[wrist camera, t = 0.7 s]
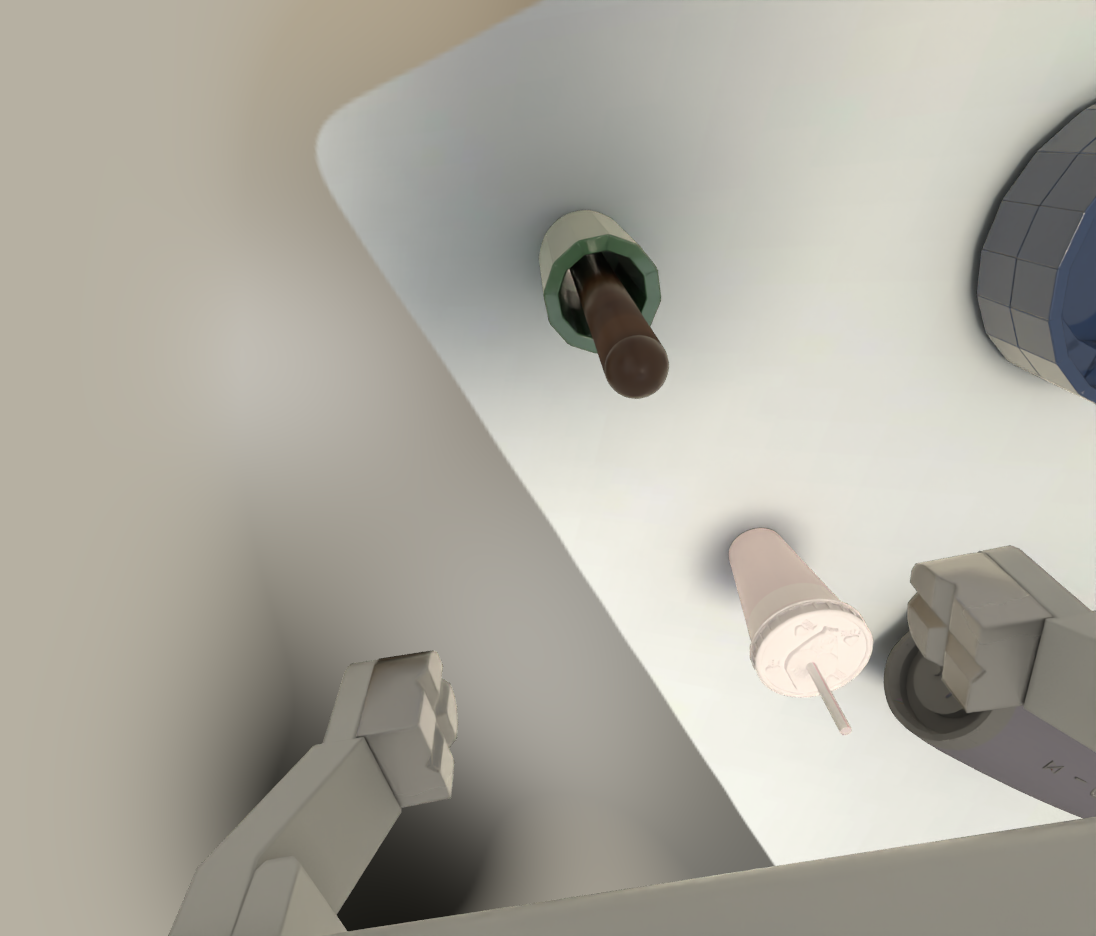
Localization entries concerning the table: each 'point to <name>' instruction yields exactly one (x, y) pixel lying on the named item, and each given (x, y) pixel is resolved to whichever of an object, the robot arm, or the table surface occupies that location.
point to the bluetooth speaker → (990, 735)
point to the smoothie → (796, 622)
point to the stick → (619, 330)
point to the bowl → (1047, 263)
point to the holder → (570, 245)
